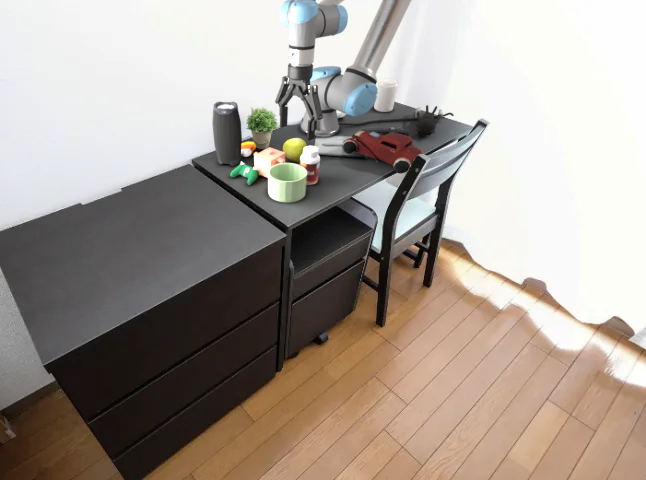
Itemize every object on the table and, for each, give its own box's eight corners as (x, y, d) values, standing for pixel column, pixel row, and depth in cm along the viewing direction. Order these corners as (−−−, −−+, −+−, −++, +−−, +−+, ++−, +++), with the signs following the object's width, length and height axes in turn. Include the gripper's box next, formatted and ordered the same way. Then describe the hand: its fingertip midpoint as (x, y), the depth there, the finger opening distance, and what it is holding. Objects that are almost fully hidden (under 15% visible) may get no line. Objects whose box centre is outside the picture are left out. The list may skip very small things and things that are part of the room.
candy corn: (255, 140, 138) (251, 151, 133) (257, 147, 140) (253, 158, 135) (240, 141, 140) (235, 152, 134) (242, 149, 142) (237, 160, 136)
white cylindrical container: (394, 108, 169) (401, 79, 161) (389, 114, 164) (395, 85, 156) (377, 105, 172) (382, 77, 164) (371, 110, 167) (376, 82, 159)
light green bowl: (288, 179, 124) (289, 159, 119) (313, 193, 117) (315, 173, 112) (260, 190, 119) (260, 170, 114) (284, 206, 112) (285, 186, 107)
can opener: (407, 140, 144) (411, 126, 140) (406, 148, 139) (410, 134, 135) (360, 134, 148) (363, 119, 144) (358, 141, 143) (360, 127, 140)
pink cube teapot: (261, 163, 132) (261, 141, 127) (289, 174, 126) (290, 150, 121) (247, 172, 128) (246, 149, 122) (275, 183, 122) (275, 159, 116)
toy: (414, 113, 167) (407, 137, 145) (418, 97, 163) (411, 120, 141) (441, 116, 163) (437, 142, 142) (445, 101, 159) (442, 125, 138)
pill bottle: (295, 183, 122) (297, 151, 114) (302, 174, 126) (304, 143, 119) (314, 187, 120) (317, 154, 112) (320, 178, 124) (323, 146, 117)
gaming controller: (254, 188, 123) (263, 172, 123) (248, 184, 120) (257, 167, 119) (234, 179, 128) (242, 163, 127) (228, 175, 124) (236, 158, 124)
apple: (302, 168, 129) (304, 146, 124) (279, 162, 133) (279, 140, 127) (312, 158, 134) (313, 137, 129) (289, 153, 138) (289, 132, 132)
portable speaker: (213, 158, 135) (207, 102, 122) (237, 153, 138) (234, 98, 125) (221, 169, 129) (215, 111, 116) (246, 163, 132) (244, 106, 119)
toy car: (359, 141, 143) (365, 115, 137) (429, 167, 129) (439, 139, 123) (337, 153, 135) (342, 126, 128) (409, 182, 121) (419, 153, 114)
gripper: (265, 57, 118) (264, 124, 132) (321, 75, 103) (314, 148, 117) (283, 53, 122) (281, 119, 136) (340, 70, 107) (331, 142, 121)
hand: (296, 132), depth 126 cm, fingers open, 13 cm apart
